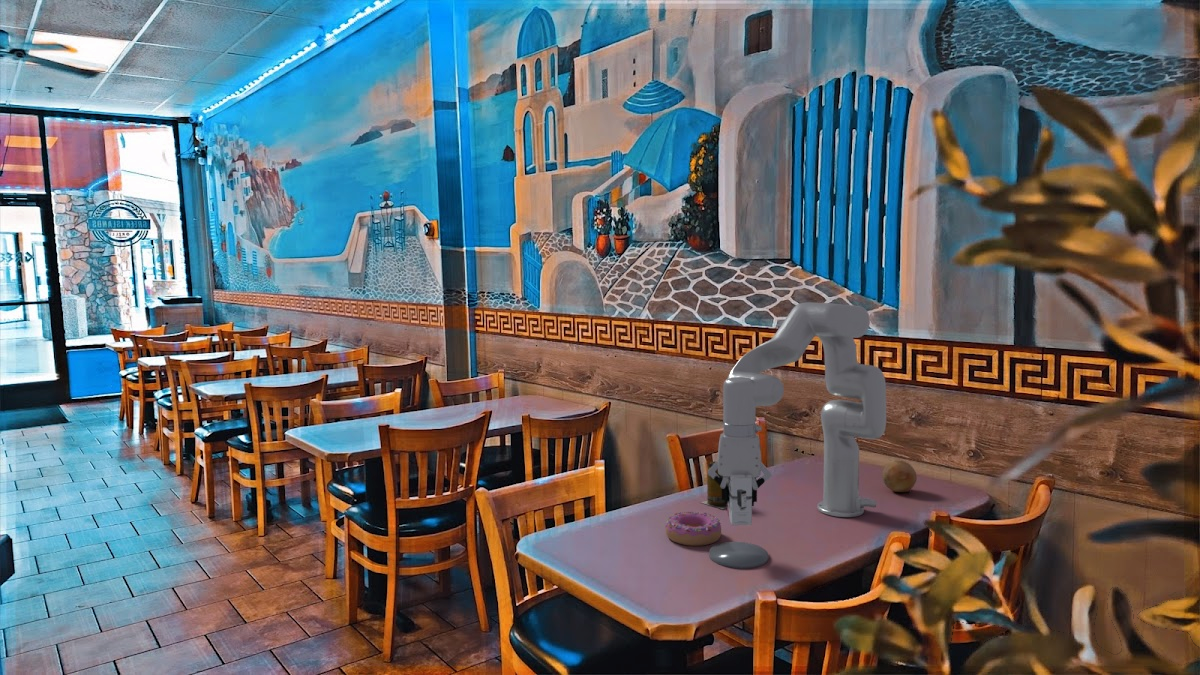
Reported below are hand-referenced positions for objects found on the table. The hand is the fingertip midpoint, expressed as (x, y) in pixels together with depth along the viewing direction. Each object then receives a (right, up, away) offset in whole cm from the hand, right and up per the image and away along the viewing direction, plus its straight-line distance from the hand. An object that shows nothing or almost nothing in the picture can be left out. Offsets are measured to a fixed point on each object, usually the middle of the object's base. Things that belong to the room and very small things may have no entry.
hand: (739, 503), depth 180 cm
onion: (+58, -8, +49) cm, 77 cm away
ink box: (0, -4, 0) cm, 4 cm away
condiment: (+2, -9, +41) cm, 42 cm away
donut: (-9, -12, +15) cm, 21 cm away
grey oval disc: (0, -13, +1) cm, 13 cm away
